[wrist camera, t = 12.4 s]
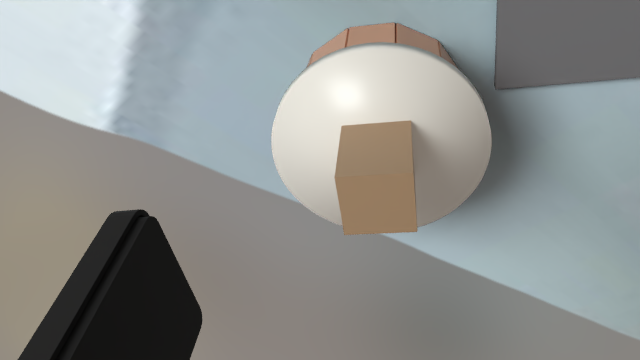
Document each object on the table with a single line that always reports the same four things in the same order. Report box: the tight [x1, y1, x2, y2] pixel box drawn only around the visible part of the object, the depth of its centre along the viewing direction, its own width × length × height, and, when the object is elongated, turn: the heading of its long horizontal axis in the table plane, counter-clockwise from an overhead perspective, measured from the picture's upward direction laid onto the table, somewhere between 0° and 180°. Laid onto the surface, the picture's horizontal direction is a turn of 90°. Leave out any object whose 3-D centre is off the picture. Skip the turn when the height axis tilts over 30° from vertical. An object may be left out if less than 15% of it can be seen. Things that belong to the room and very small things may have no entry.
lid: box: [271, 42, 492, 235], centre depth 33 cm, size 13×13×6 cm
